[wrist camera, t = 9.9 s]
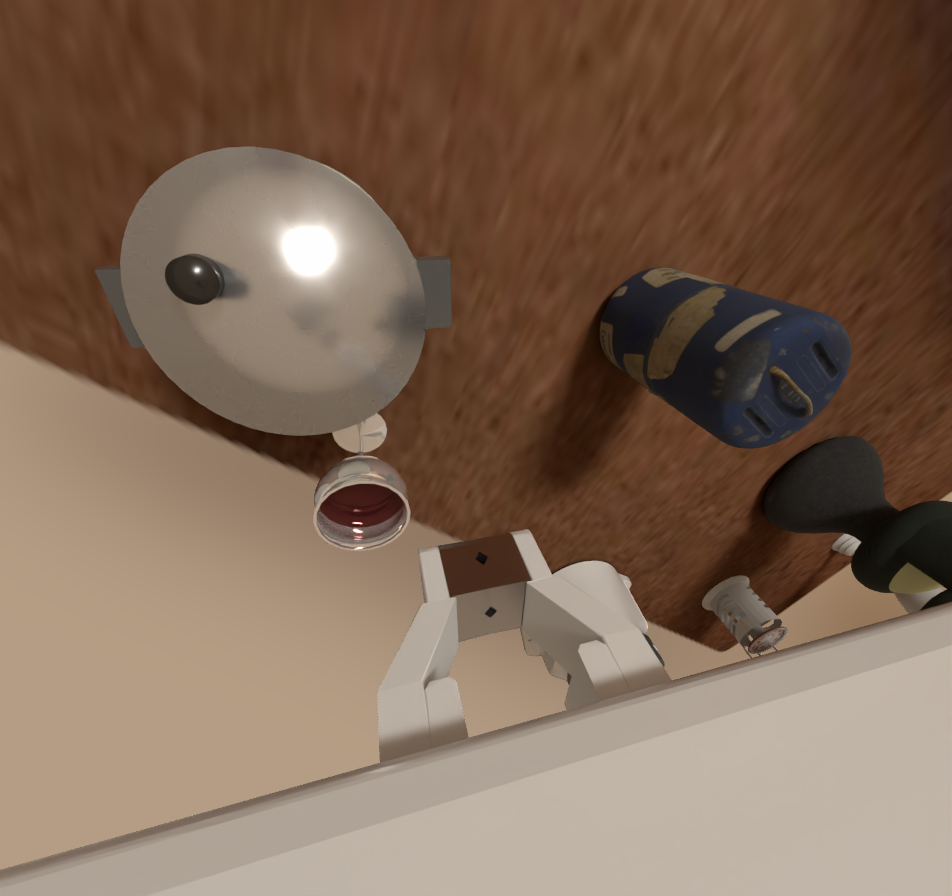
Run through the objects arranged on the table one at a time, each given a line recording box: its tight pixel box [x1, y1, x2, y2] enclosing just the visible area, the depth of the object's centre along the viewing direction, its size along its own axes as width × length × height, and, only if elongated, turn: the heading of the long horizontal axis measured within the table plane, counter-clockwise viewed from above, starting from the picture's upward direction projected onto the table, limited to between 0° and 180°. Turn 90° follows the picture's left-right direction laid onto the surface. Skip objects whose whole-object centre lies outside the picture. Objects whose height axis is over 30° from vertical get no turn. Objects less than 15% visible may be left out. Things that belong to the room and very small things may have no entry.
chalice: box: [832, 534, 944, 614], centre depth 69 cm, size 7×7×18 cm
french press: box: [702, 575, 787, 658], centre depth 66 cm, size 10×12×25 cm
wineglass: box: [313, 413, 410, 551], centre depth 34 cm, size 7×7×12 cm
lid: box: [120, 147, 426, 436], centre depth 21 cm, size 14×14×2 cm
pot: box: [95, 159, 452, 348], centre depth 26 cm, size 14×18×10 cm
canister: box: [600, 267, 852, 448], centre depth 32 cm, size 10×10×18 cm
